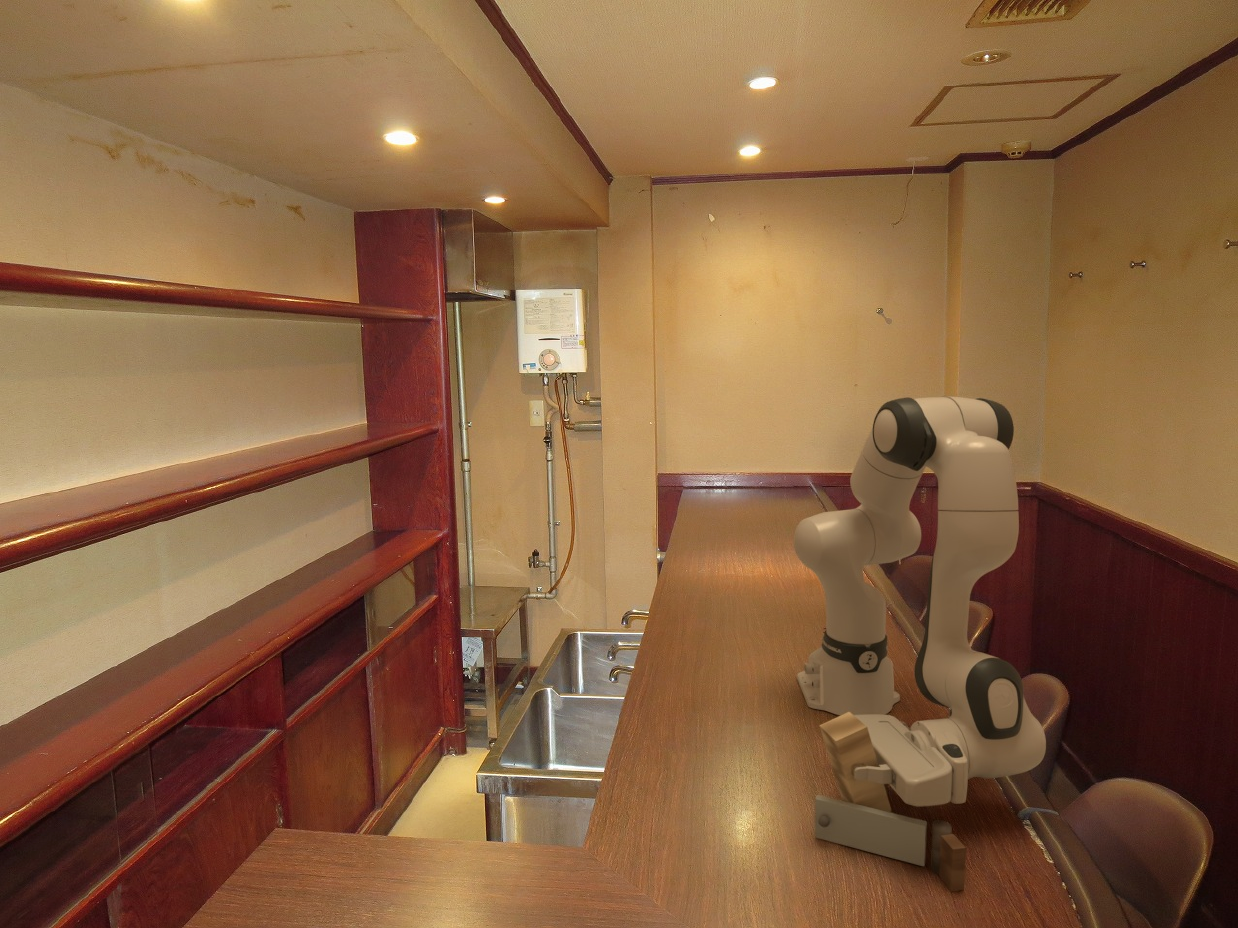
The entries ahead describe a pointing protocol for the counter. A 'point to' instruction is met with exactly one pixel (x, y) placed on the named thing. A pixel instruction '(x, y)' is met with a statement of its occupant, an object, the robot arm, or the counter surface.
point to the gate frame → (947, 855)
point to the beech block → (853, 761)
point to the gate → (871, 830)
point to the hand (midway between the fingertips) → (843, 760)
